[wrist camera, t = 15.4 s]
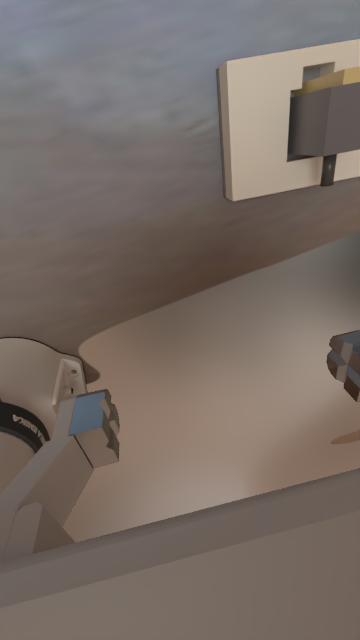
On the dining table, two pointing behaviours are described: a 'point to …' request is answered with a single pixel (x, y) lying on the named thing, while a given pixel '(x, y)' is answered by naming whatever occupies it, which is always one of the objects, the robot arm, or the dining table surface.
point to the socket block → (274, 120)
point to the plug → (326, 119)
